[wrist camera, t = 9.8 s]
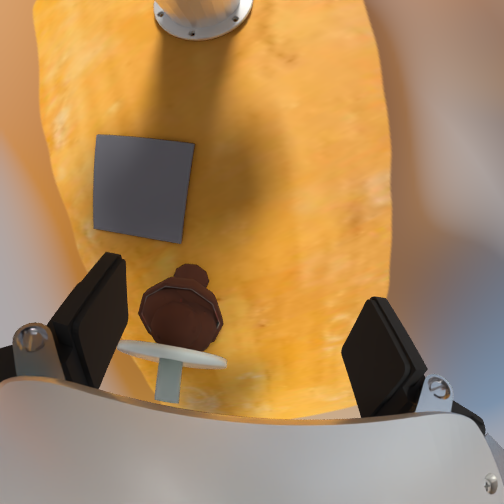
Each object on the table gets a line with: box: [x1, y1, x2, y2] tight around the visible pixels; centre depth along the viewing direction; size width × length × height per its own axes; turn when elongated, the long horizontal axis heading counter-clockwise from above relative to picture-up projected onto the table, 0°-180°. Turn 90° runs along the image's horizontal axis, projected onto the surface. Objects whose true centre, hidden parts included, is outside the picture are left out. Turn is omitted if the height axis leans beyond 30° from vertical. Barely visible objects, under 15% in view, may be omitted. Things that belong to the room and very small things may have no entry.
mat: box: [93, 134, 195, 244], centre depth 36 cm, size 14×14×1 cm
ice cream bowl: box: [138, 264, 223, 352], centre depth 36 cm, size 11×11×15 cm
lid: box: [117, 340, 227, 403], centre depth 30 cm, size 13×13×6 cm
